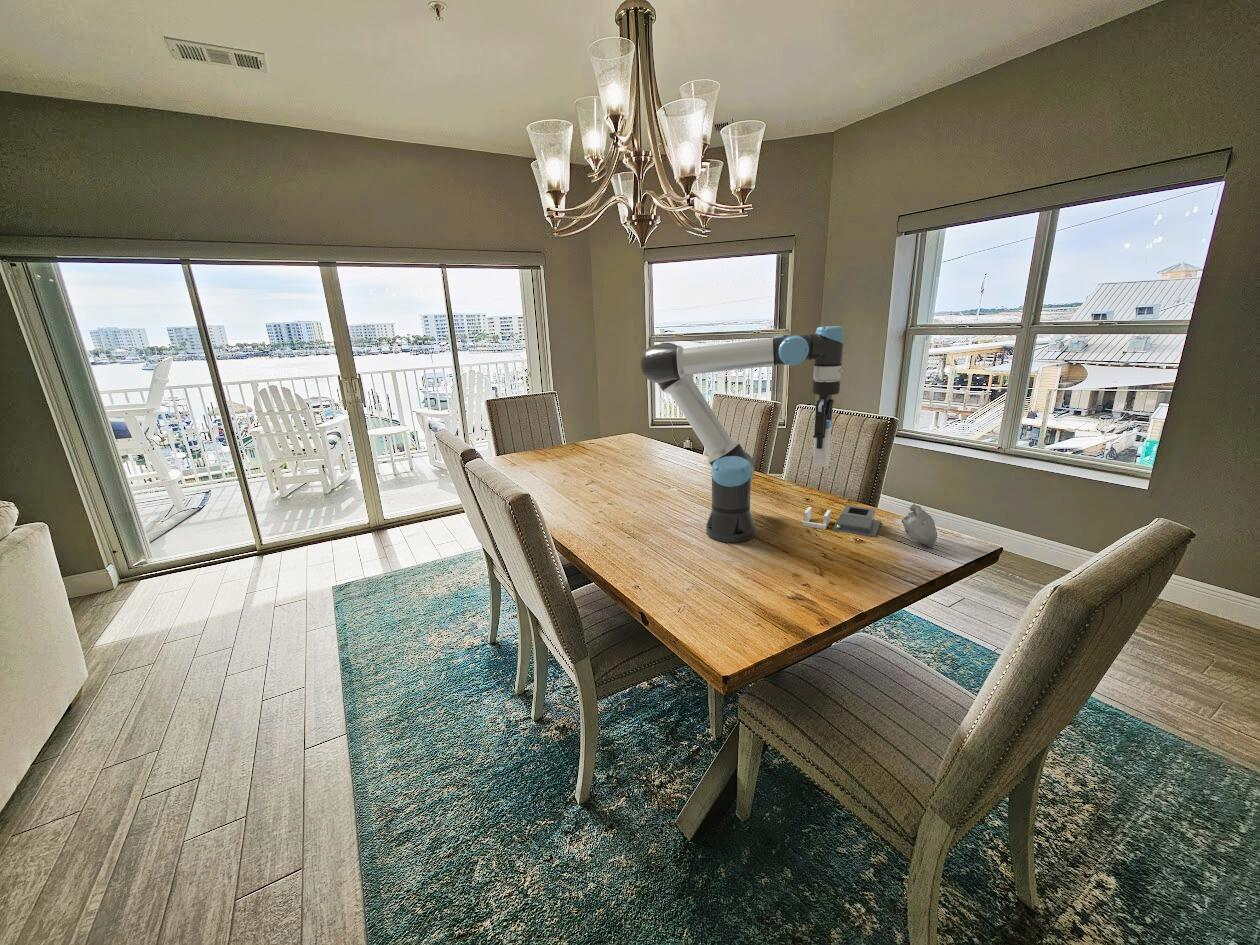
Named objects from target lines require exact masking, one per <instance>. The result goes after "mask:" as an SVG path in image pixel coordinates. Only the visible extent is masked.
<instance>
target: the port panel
mask: <svg viewBox="0 0 1260 945" xmlns="http://www.w3.org/2000/svg"><path fill="white" fill-rule="evenodd" d="M875 514H876V508H871V507H863V506H855V505H849V504H846V505H845V507H844V509H843V510H842V512H841V514H839V516H838V518H837V520H836V521H835V523H834V526H832V531H837V532H843V533H847V534H854V535H859V536H865V537H871V538H876V536H877V534H878V532H879V528H880V525H881V523H882V520H879V519H875Z"/></svg>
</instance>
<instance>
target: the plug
mask: <svg viewBox="0 0 1260 945" xmlns="http://www.w3.org/2000/svg"><path fill="white" fill-rule="evenodd" d="M832 424H833V420H827V422H826V430H825V438H826V440H825V453H824V459H817V458H814V455H815V441H816V438H813V451H812V453H813V454H812V455H813V456H812V467H818V468H819V467H821V468H828V466H829V465H830V455H831V452H830V451H831V440H832V437H831V436H832V434H831V432H832Z"/></svg>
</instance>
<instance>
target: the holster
mask: <svg viewBox="0 0 1260 945" xmlns="http://www.w3.org/2000/svg"><path fill="white" fill-rule="evenodd" d="M831 516H832V510H831V509H827V510H826V512H825V513H824V514H823V518H822V520H823V521H822V523H820V522H819V523H818V522H813V521H812V522H811V519H812V506H808V507H807V508H806V509H805V511H804V512H803V521H802V524H801V526H802V527H803V526H804V527H810V528H815V529H821V530H826V529H827V527H828V526H829V524H830V523H831Z"/></svg>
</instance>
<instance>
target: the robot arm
mask: <svg viewBox="0 0 1260 945" xmlns="http://www.w3.org/2000/svg"><path fill="white" fill-rule="evenodd" d="M815 330H816V331H815V333H812V334H811V333H809V334H782V335H775V336H774V337H771V338H764V339H757V340H754V339H753V340H746V341H737V342H729V343H721V344H720V343H719V344H713V345H711V344H710V345H703V346H694V347H686V348H685V347H683V346H682V345H677V344H675V343H673V342H662V343H659V344H653V345H650V346H649V347H648V348H646V349H645V350H644V352H643V353H642V354H641V357H640V362H639V367H640V371H641V373H642V375H643V376H644V378H645V379H647V380H648V381H650V382H652V383H655V384H656V383H657V385H658V386H659V388H660V389H661V391H662V392H663V393H667V394H670V396H671V397H672V399H673V400H674V402H675V404H676V405H677V408H679V410H680V411H681V413H682V415H683V416H684V418H685V419H686V420H687V422H688V423H689V425H690V426H691V428H692V430H693V432H695V435H696V436H697V438H698V439H699V441H700V442H701V444H702V446H703V447H704V448H705V450H706V451H707V453H708V459H707V460H708V461H707V462H708V463H709V465H710V466H711V472H710V474H711V510H710V513H709V516H708V519H707V521H706V525H705V534H706V535H707V536H708V537H709V538H710V539H712V540H714V541H715V540H716V541H718V542H723V543H730V544H731V543H734V544H735V543H745V542H747V541H750V540H752V539H753V538H754V537H755V536H756V525H755V522H754V519H753V516H752V512H751V494H752V493H751V487H752V482H753V478H754V474H755V470H756V469H755V467H756V466H755V462H754V460H753V458H752V456H751V454H749V453H748V451H745V450H744V448H743V447H742V445H741V443H740V442H739V441H736V440H733V439H731V436H729V434H728V433H727V431H726V430H725V428H724V426H723V425H722V423H721V421H720V420H719V419H718V417H717V415H716V414H715V412H714V411H713V409H712V408H711V406H710V405H709V403H708V401H707V399H706V398H705V396H704V395H703V393H702V392H701V390H700V389H699V387H698V386H697V383H696V382H695V380H694V379H693V375H697V374H698V375H699V374H705V373H706V374H707V373H717V372H718V373H719V372H726V371H727V372H728V371H735V370H736V371H737V370H744V369H745V370H746V369H756V368H764V367H767V368H768V367H776V366H778V367H779V366H797V365H800V364H801V363H803V362H804V361H814V363H813V376H812V379H813V380H814V381H812V390H811V392H812V394H813V395H817V396H819V397H818V400H817V401H816V405H815V407H814V408H815V418H814V420H815V421H814V434H813V435H812V438H813V439H814V438H816V441H815V455H814V458H817V459H824V453H825V440H826V438H825V430H826V422H827V420H832V419H833V418H832V416H833V407H834V403H835V402H834V399H833V397H832V396H835V395H838V394H840V389H841V388H840V386H841V382H840V381H839V380H840V379H841V375H842V373H843V372H844V370H843V368H842V364H843V353H844V343H845V342H844V339H845V338H844V337H845V336H844V335H845V334H844V333H845V332H844V331H845V329H844V328H843V327H842V326H841V325H835V326H831V325H830V326H819V327H817V328H816V329H815ZM832 421H833V420H832ZM832 434H833V431H831V435H832Z"/></svg>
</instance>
